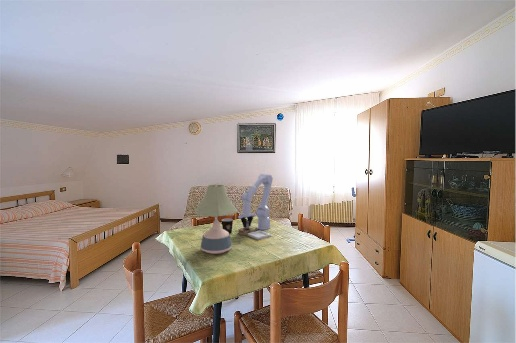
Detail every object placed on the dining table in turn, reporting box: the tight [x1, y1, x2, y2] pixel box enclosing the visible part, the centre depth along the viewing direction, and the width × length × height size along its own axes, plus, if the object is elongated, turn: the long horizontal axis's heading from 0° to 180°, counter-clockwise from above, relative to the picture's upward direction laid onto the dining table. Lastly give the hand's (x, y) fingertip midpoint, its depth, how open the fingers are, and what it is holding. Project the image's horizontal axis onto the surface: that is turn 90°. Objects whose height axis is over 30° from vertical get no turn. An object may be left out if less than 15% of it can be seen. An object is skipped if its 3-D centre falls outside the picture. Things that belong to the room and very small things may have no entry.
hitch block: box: [237, 226, 256, 237], centre depth 187 cm, size 10×8×3 cm
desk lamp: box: [194, 182, 239, 255], centre depth 152 cm, size 26×28×42 cm
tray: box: [247, 230, 272, 241], centre depth 180 cm, size 12×12×2 cm
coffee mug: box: [219, 218, 234, 234], centre depth 188 cm, size 12×9×10 cm
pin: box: [244, 219, 250, 231], centre depth 187 cm, size 4×4×9 cm
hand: (246, 226), depth 187 cm, fingers closed on pin, 4 cm apart
